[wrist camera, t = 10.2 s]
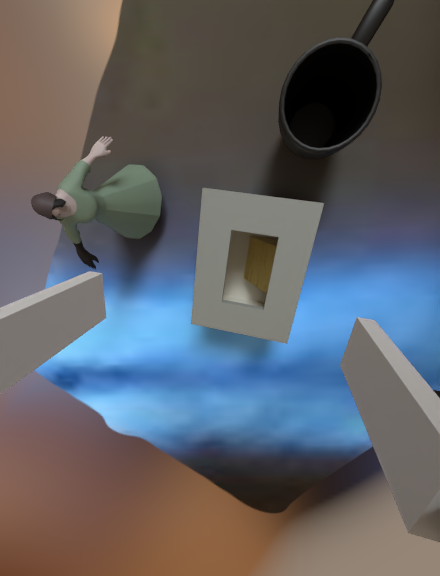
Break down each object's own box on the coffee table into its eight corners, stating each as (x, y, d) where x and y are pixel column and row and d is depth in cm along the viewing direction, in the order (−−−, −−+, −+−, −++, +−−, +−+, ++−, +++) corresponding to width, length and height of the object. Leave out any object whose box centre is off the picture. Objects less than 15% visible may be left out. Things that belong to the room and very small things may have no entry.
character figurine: (151, 265, 40) (67, 313, 23) (107, 244, 40) (-8, 276, 23) (182, 166, 34) (98, 136, 17) (130, 142, 34) (-4, 88, 17)
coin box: (221, 190, 34) (202, 187, 24) (308, 201, 32) (324, 203, 23) (209, 294, 40) (191, 323, 30) (282, 308, 38) (287, 343, 29)
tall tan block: (250, 236, 33) (277, 247, 28) (268, 237, 34) (297, 247, 29) (243, 278, 35) (267, 294, 30) (260, 277, 36) (286, 293, 31)
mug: (388, 73, 26) (448, 10, 17) (317, 178, 31) (336, 170, 22) (325, 33, 26) (352, -51, 17) (263, 145, 31) (261, 123, 22)
